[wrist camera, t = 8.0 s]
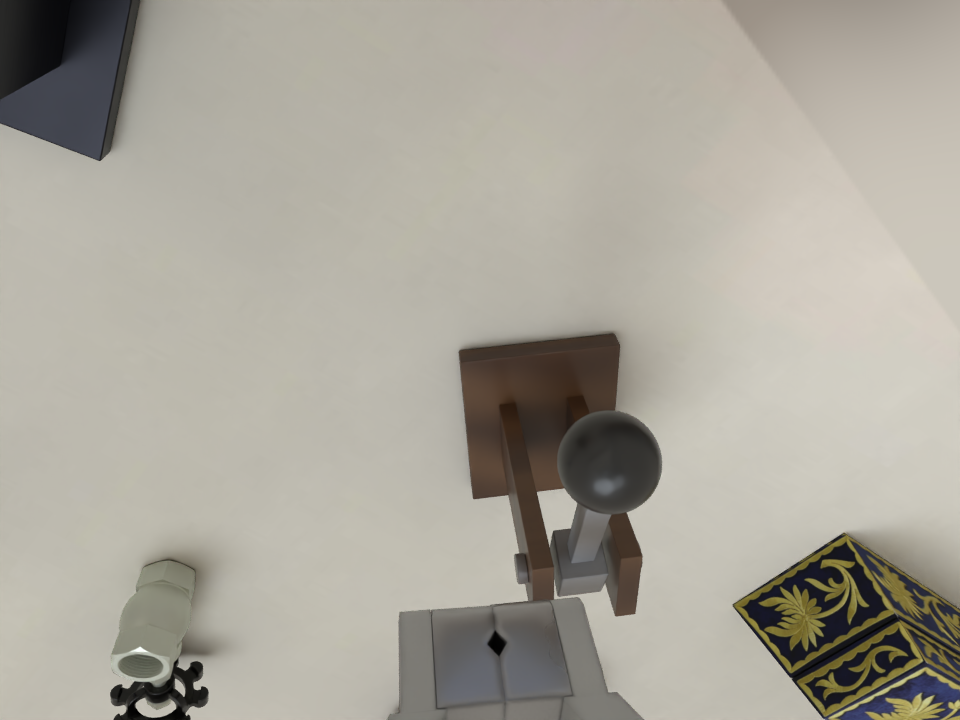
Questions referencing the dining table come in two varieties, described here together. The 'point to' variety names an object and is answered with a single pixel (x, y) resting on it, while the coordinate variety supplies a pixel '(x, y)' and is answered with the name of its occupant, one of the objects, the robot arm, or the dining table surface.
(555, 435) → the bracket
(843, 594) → the decorative box
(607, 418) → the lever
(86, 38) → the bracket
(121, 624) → the valve
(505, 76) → the dining table surface
